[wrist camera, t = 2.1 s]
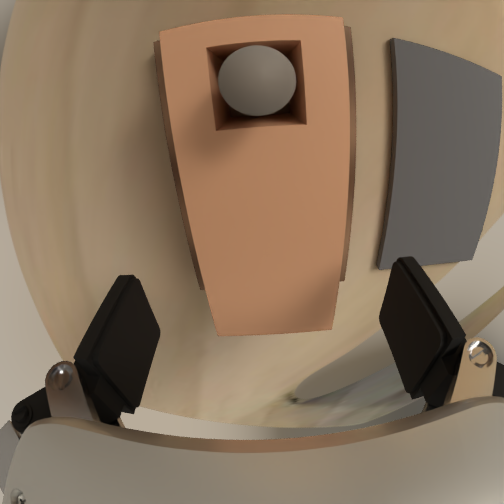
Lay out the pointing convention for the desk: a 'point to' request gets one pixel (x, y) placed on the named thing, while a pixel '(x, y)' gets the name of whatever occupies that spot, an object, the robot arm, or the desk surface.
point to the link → (264, 172)
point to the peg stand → (258, 110)
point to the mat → (439, 155)
